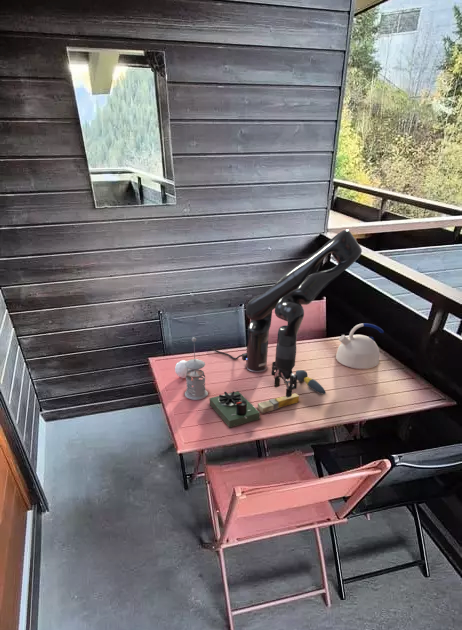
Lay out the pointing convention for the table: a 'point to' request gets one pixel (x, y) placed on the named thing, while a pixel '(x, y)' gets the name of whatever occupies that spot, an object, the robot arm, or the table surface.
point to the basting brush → (277, 403)
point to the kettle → (358, 349)
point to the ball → (181, 369)
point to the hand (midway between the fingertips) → (282, 391)
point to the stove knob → (241, 407)
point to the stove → (234, 412)
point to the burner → (229, 399)
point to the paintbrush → (309, 381)
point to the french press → (195, 378)
